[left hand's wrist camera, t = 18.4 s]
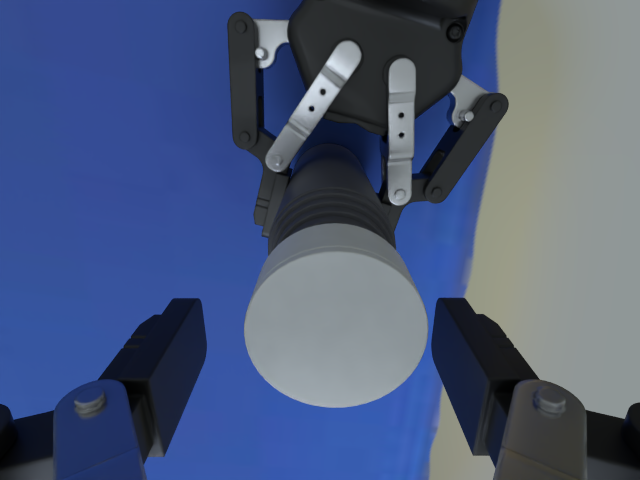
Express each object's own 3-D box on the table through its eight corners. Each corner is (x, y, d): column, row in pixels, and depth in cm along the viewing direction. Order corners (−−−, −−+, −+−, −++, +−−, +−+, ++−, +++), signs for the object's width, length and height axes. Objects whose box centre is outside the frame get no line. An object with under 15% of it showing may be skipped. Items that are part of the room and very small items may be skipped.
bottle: (315, 129, 26) (299, 197, 9) (376, 166, 27) (469, 294, 10) (280, 191, 27) (209, 350, 10) (339, 224, 28) (363, 422, 11)
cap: (318, 380, 13) (317, 433, 11) (226, 280, 11) (205, 319, 9) (439, 308, 12) (463, 352, 10) (352, 189, 10) (359, 212, 8)
